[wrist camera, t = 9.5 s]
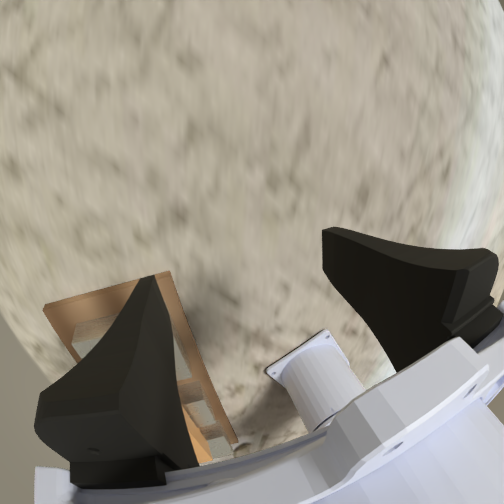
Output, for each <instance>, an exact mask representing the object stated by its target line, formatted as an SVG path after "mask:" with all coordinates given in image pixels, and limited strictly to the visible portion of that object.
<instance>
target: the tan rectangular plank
mask: <svg viewBox="0 0 504 504" xmlns="http://www.w3.org/2000/svg"><path fill="white" fill-rule="evenodd" d="M182 409H183V413H184V417H185V421H186V425H187V428H188V432H189V435H190V438H191V442H192V445H193V448H194V451H195V454H196V457H197V460H198V463H203V462H207V461H212V460H213V459H212V455H211V452H210V448H209V444H208V442H207V440H206V439H205V438H204V436H203V435H202V434H201V432H200V428H197V427H196V425H195V424H194V422H193V421H192V419H191V418H190V417H189V415H188V414H187V412H186V411H185V409H184V408H183V406H182Z"/></svg>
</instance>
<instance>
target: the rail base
mask: <svg viewBox="0 0 504 504" xmlns="http://www.w3.org/2000/svg"><path fill="white" fill-rule="evenodd" d="M155 278H156V281H157V283H158V286H159V289H160V291H161V294H162V297H163V299H164V301H166V304H167V306H168V309H169V312H170V314H171V317H172V319H173V322H174V324H175V326H176V329H177V331H178V334H179V336H180V338H181V341H182V343H183V345H184V348H185V350H186V352H187V355H188V357H189V362H190V368H191V373H192V378H188V379H184V380H179V381H177V386H178V385H182V384H186V383H190V382H194V381H198V380H199V381H200V383H201V385H202V387H203V389H204V391H205V393H206V395H207V397H208V399H209V401H210V403H211V405H212V409H213V413H214V416H215V420H216V421H217V420H219V421H220V423H221V425H222V427H223V428H224V430H225V432H226V434H227V436H228V438H229V440H230V443H231V444H234V443H238V439H237V437H236V435H235V432H234V430H233V428H232V426H231V424H230V422H229V420H228V418H227V416H226V413H225V411H224V409H223V407H222V405H221V402H220V400H219V398H218V396H217V393H216V391H215V389H214V387H213V384H212V382H211V380H210V377H209V375H208V372H207V370H206V368H205V365H204V363H203V360H202V358H201V355H200V353H199V350H198V348H197V345H196V343H195V340H194V337H193V335H192V332H191V330H190V327H189V324H188V322H187V319H186V316H185V313H184V311H183V308H182V305H181V302H180V299H179V296H178V294H177V291H176V288H175V285H174V282H173V279H172V276H171V273H170V271H167V272H163V273H159V274H155ZM139 280H140V279H137V280H133V281H130V282H126V283H122V284H119V285H115V286H111V287H107V288H104V289H100V290H96V291H93V292H89V293H85V294H82V295H78V296H74V297H71V298H67V299H63V300H60V301H56V302H53V303H49V304H45V306H44V308H43V312H44V314H45V315H46V317H47V319H48V320H49V322H50V323H51V325H52V327H53V328H54V330H55V331H56V333H57V334H58V336H59V338H60V339H61V341H62V342H63V343H64V345H65V346H66V348H67V349H68V351H69V352H70V354H71V355H72V356H73V358H74V359H75V361H76V362H77V363H79V362H80V361H81V360H82V359H81V357H80V356H79V355H78V353H77V352H76V350H75V349H74V347H73V346H72V344H71V343H72V339H73V335H74V331H75V328H76V324H77V323H80V322H84V321H88V320H92V319H96V318H100V317H105V316H109V315H113V314H117V313H120V311H121V310H122V308H123V307H124V305H125V303H126V302H127V300H128V298H129V297H130V295H131V293H132V291H133V290H134V288H135V286H136V284H137V283H138V281H139Z"/></svg>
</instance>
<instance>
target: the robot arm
mask: <svg viewBox="0 0 504 504" xmlns="http://www.w3.org/2000/svg"><path fill="white" fill-rule="evenodd" d="M322 259H323V271H324V273H325V274H326V276H327V277H328V279H329V280H330V282H331V283H332V285H333V286H334V287H335V288H336V290H337V291H338V292H339V293H340V294H341V295H342V296H343V297H344V299H345V300H346V301H347V302H348V303H349V304H350V305H351V306H352V307H353V308H354V310H355V311H356V312H357V313H358V314H359V315H360V316H361V317H362V319H363V320H364V321H365V322H366V323H367V325H368V326H369V328H370V329H371V331H372V332H373V333H374V335H375V336H376V338H377V339H378V341H379V343H380V344H381V346H382V347H383V349H384V351H385V352H386V354H387V356H388V358H389V359H390V361H391V363H392V365H393V367H394V369H395V370H396V372H397V373H396V374H394V375H392V376H391V377H389V378H387V379H385V380H383V381H382V382H380V383H378V384H376V385H374V386H372V387H371V388H369V389H368V390H366V389H365V388H364V386H363V385H362V384H361V382H360V381H359V379H358V378H357V377H356V375H355V374H354V372H353V371H352V370H351V368H350V367H349V365H350V363H349V361H348V360H347V358H346V357H345V355H344V354H343V352H342V350H341V349H340V347H339V346H338V344H337V343H336V341H335V340H334V338H333V336H332V335H331V333H330V332H329V330H327V329H325V330H323V331H321V332H320V333H319V334H317V335H316V336H314V337H313V338H312V339H310V340H309V341H307V342H306V343H304V344H303V345H302V346H300V347H299V348H297V349H296V350H294V351H293V352H291V353H290V354H288V355H287V356H285V357H284V358H282V359H281V360H279V361H278V362H276V363H274V364H273V365H271V366H270V367H268V368H267V369H266V372H267V374H268V375H270V376H271V377H272V378H273V379H275V380H276V381H277V382H278V383H280V384H281V385H282V386H283V387H285V388H286V389H287V391H288V393H289V395H290V397H291V399H292V401H293V403H294V405H295V407H296V409H297V411H298V413H299V415H300V417H301V419H302V421H303V423H304V425H305V427H306V429H307V430H308V432H309V434H306V435H304V436H301V437H299V438H296V439H293V440H291V441H288V442H285V443H282V444H280V445H277V446H274V447H271V448H268V449H265V450H261V451H258V452H255V453H252V454H248V455H245V456H241V457H237V458H234V459H230V460H226V461H222V462H218V463H213V464H209V465H204V466H199V463H198V460H197V457H196V454H195V451H194V448H193V445H192V442H191V438H190V435H189V432H188V428H187V425H186V421H185V417H184V413H183V409H182V405H181V401H180V396H179V392H178V386H177V379H176V368H175V355H174V340H173V331H172V326H171V321H170V315H169V312H168V310H167V307H166V305H165V302H164V299H163V297H162V294H161V291H160V289H159V286H158V283H157V281H156V278H155V275H151V276H148V277H144V278H140V280H139V281H138V283H137V284H136V286H135V288H134V290H133V291H132V293H131V295H130V297H129V298H128V300H127V302H126V303H125V305H124V307H123V308H122V310H121V311H120V313H119V314H118V316H117V317H116V319H115V320H114V322H113V324H112V325H111V326H110V328H109V329H108V330H107V332H106V333H105V334H104V336H103V337H102V338H101V339H100V341H99V342H98V343H97V344H96V345H95V346H94V347H93V348H92V349H91V350H90V352H89V353H88V354H87V355H86V356H85V357H84V358H83V359H82V360H81V361H80V362H79V363H78V364H77V365H76V366H74V367H73V368H72V369H71V370H70V371H69V372H68V373H66V374H65V375H64V376H63V377H61V378H60V379H59V380H58V381H56V382H55V383H53V384H52V385H51V386H49V387H48V388H47V389H45V390H44V391H42V392H41V393H40V396H39V401H38V406H37V412H36V418H35V423H34V429H35V432H36V434H37V435H38V437H39V438H40V439H41V440H42V441H43V442H44V443H45V444H46V445H47V446H49V447H50V448H51V449H52V450H54V451H55V452H57V453H58V454H59V455H61V456H62V457H64V458H65V459H66V460H68V461H69V462H70V470H67V469H64V468H59V467H44V466H36V467H35V487H34V488H35V489H34V502H35V503H34V504H504V426H503V424H502V423H501V422H500V421H499V420H498V418H497V417H496V416H495V415H494V414H493V413H492V411H491V410H490V409H489V408H488V407H487V405H488V404H489V403H490V402H491V401H492V400H493V398H494V397H495V396H496V395H497V394H498V393H499V392H500V391H501V389H502V388H503V387H504V300H503V301H502V302H501V303H500V304H499V306H498V307H497V308H496V307H495V306H494V305H493V303H494V298H493V297H491V296H490V292H491V290H492V287H493V284H494V281H495V278H496V275H497V271H498V266H499V261H498V257H497V255H496V254H494V253H493V252H491V251H490V250H488V249H485V248H478V249H463V250H452V249H434V248H424V247H417V246H411V245H405V244H400V243H396V242H392V241H388V240H384V239H380V238H376V237H373V236H369V235H366V234H362V233H359V232H355V231H352V230H348V229H344V228H339V227H331V228H327V229H324V230H322Z"/></svg>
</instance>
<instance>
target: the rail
mask: <svg viewBox="0 0 504 504" xmlns="http://www.w3.org/2000/svg"><path fill="white" fill-rule="evenodd" d="M164 302H165V305H166V307H167V310H168V312H169V309H168V306H167V304H166V301H164ZM118 314H119V313H117V314H113V315H109V316H105V317H100V318H96V319H92V320H88V321H84V322H80V323H77V324H76V328H75V331H74V335H73V339H72V343H71V344H72V346H73V347H74V349H75V350H76V352H77V353H78V355H79V356H80V357H81V359H83V358H84V357H85V356H86V355H87V354H88V353H89V352H90V350H91V349H92V348H93V347H94V346H95V345H96V344H97V343H98V342H99V341H100V339H101V338H102V337H103V336H104V334H105V333H106V332H107V330H108V329H109V328H110V326H111V325H112V324H113V322H114V320H115V319H116V317H117V316H118ZM169 315H170V321H171V326H172V331H173V340H174V355H175V368H176V379H177V381H179V380H184V379H188V378H192V373H191V368H190V362H189V357H188V355H187V352H186V350H185V348H184V345H183V343H182V341H181V338H180V336H179V334H178V331H177V329H176V326H175V324H174V322H173V319H172V317H171V314H170V312H169ZM178 392H179V396H180V401H181V405H182V406H183V408H184V409H185V411H186V412H187V414H188V415H189V417H190V418H191V419H192V421H193V422H194V424H195V425H196V427H197V428H200V432H201V434H202V435H203V436H204V438H205V439H206V440H207V442H208V444H209V448H210V452H211V455H212V459H215V458H219V457H223V456H227V455H231V454H234V452H233V449H232V446H231V443H230V440H229V438H228V436H227V434H226V432H225V430H224V428H223V427H222V425H221V423H220V421H219V420H217V421H216V420H215V416H214V413H213V409H212V405H211V403H210V401H209V399H208V397H207V395H206V393H205V391H204V389H203V387H202V385H201V383H200V381H199V380H198V381H194V382H190V383H186V384H182V385H178Z"/></svg>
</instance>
